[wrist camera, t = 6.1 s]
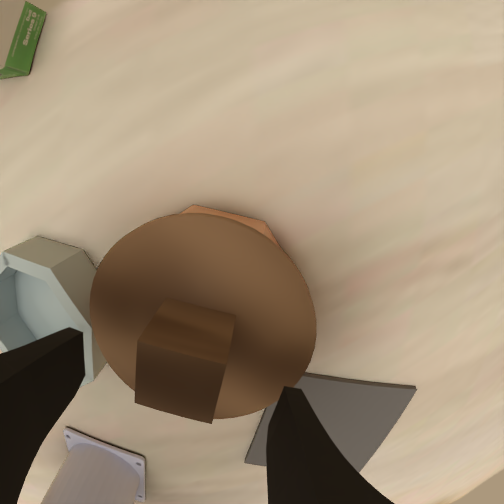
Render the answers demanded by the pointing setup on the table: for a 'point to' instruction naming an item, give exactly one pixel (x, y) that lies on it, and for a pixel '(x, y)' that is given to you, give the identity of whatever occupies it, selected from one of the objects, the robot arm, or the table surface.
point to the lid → (202, 316)
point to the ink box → (18, 36)
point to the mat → (344, 415)
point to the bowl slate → (47, 297)
